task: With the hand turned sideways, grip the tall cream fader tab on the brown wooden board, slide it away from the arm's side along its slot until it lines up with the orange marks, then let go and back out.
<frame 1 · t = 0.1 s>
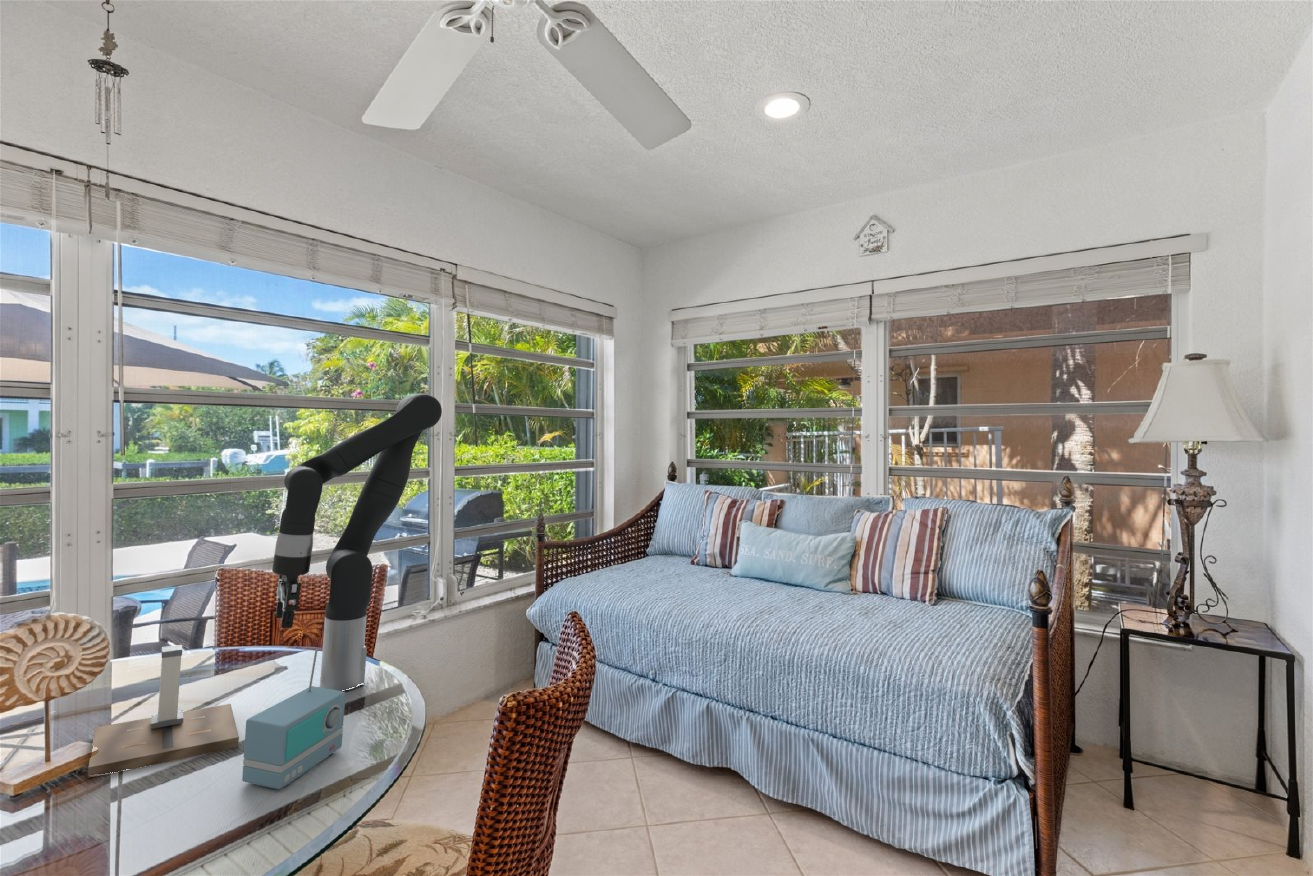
hand: (283, 622, 146), 17 cm above the table, tool pointing down, fingers open, 8 cm apart
radio: (296, 769, 118), on the table
brown wooden board: (166, 742, 124), on the table
fader: (169, 685, 127), point 10 cm above the table, slide at 0.0 cm
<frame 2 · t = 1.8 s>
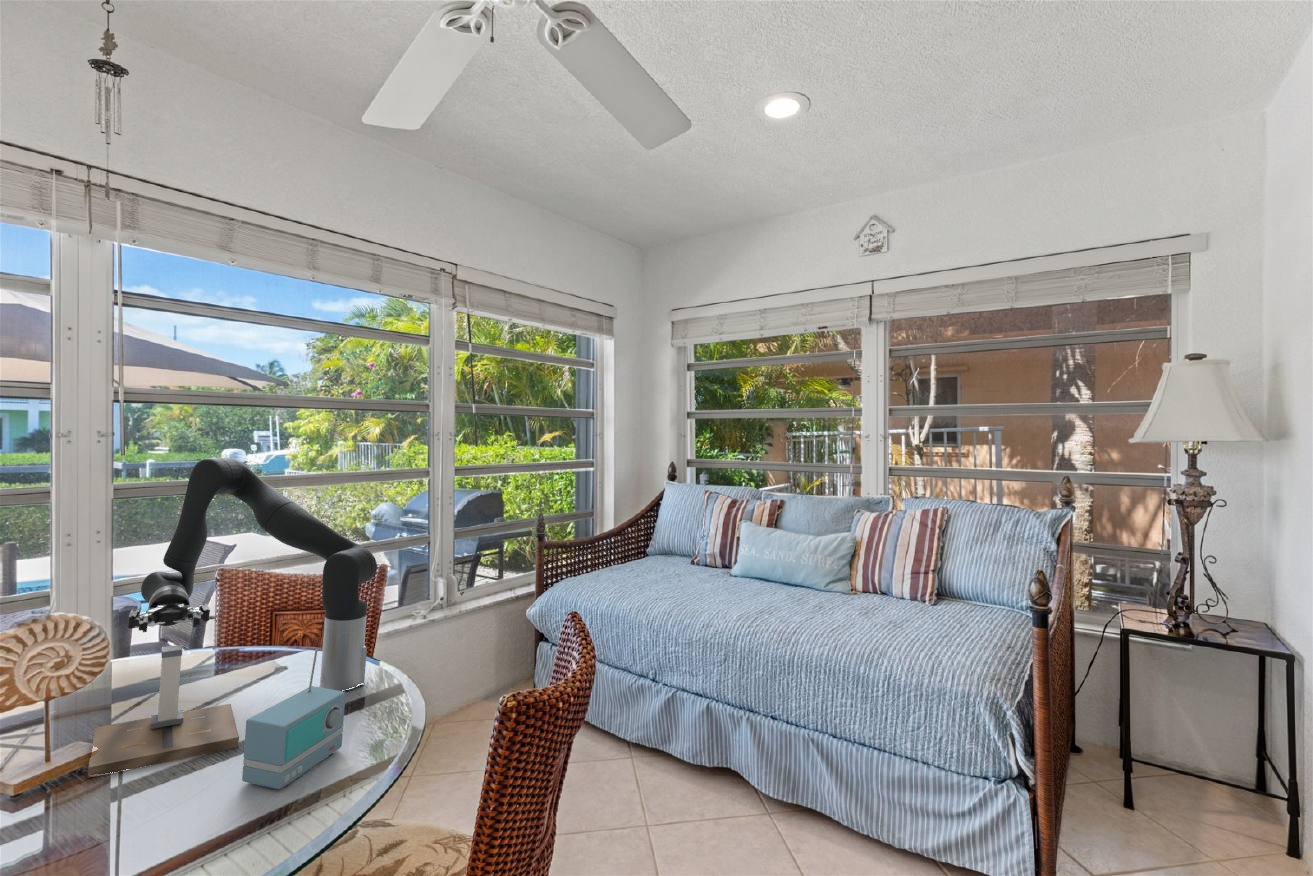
hand: (170, 625, 135), 19 cm above the table, tool horizontal, fingers open, 8 cm apart
nothing on the table moved.
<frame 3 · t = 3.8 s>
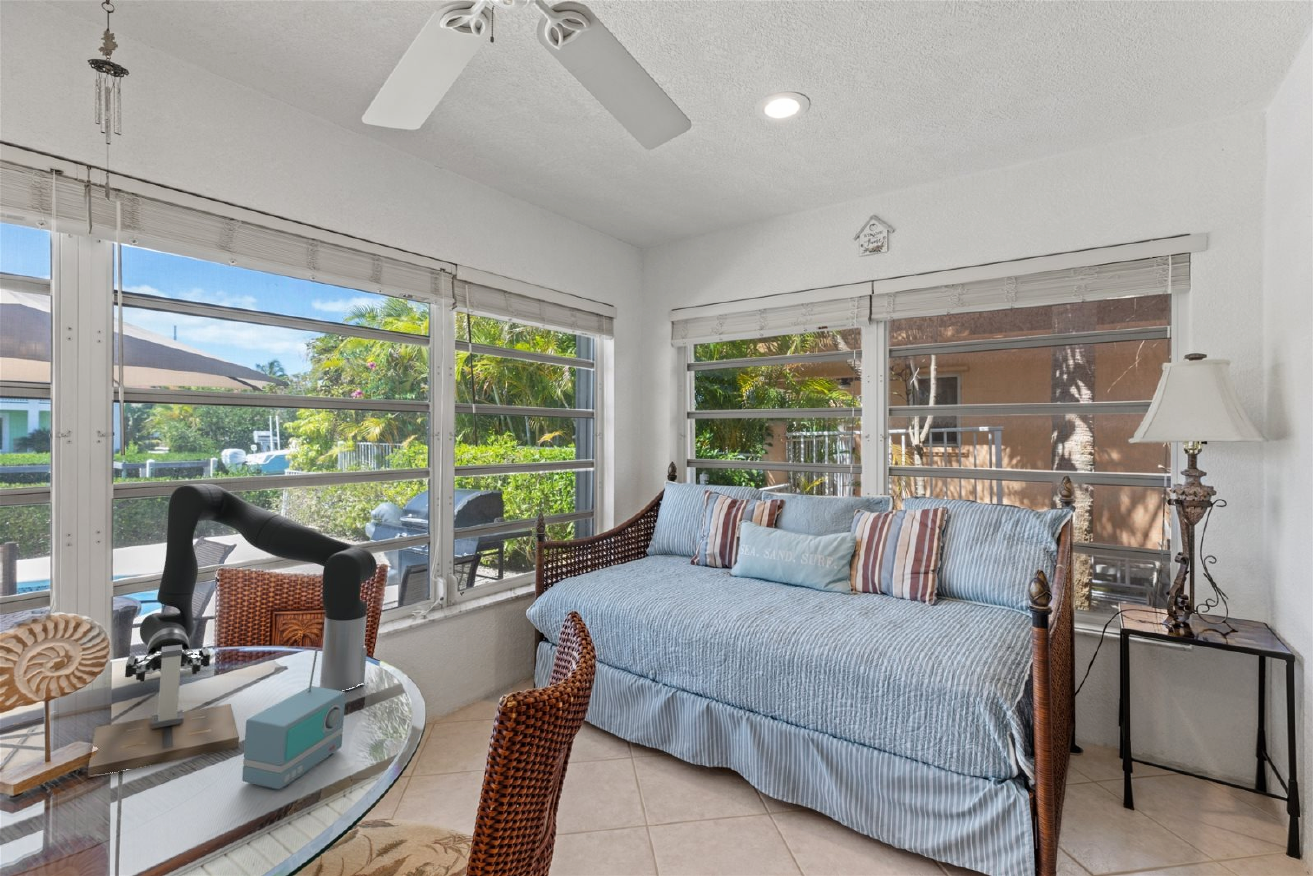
hand: (169, 673, 130), 11 cm above the table, tool horizontal, fingers open, 8 cm apart
nothing on the table moved.
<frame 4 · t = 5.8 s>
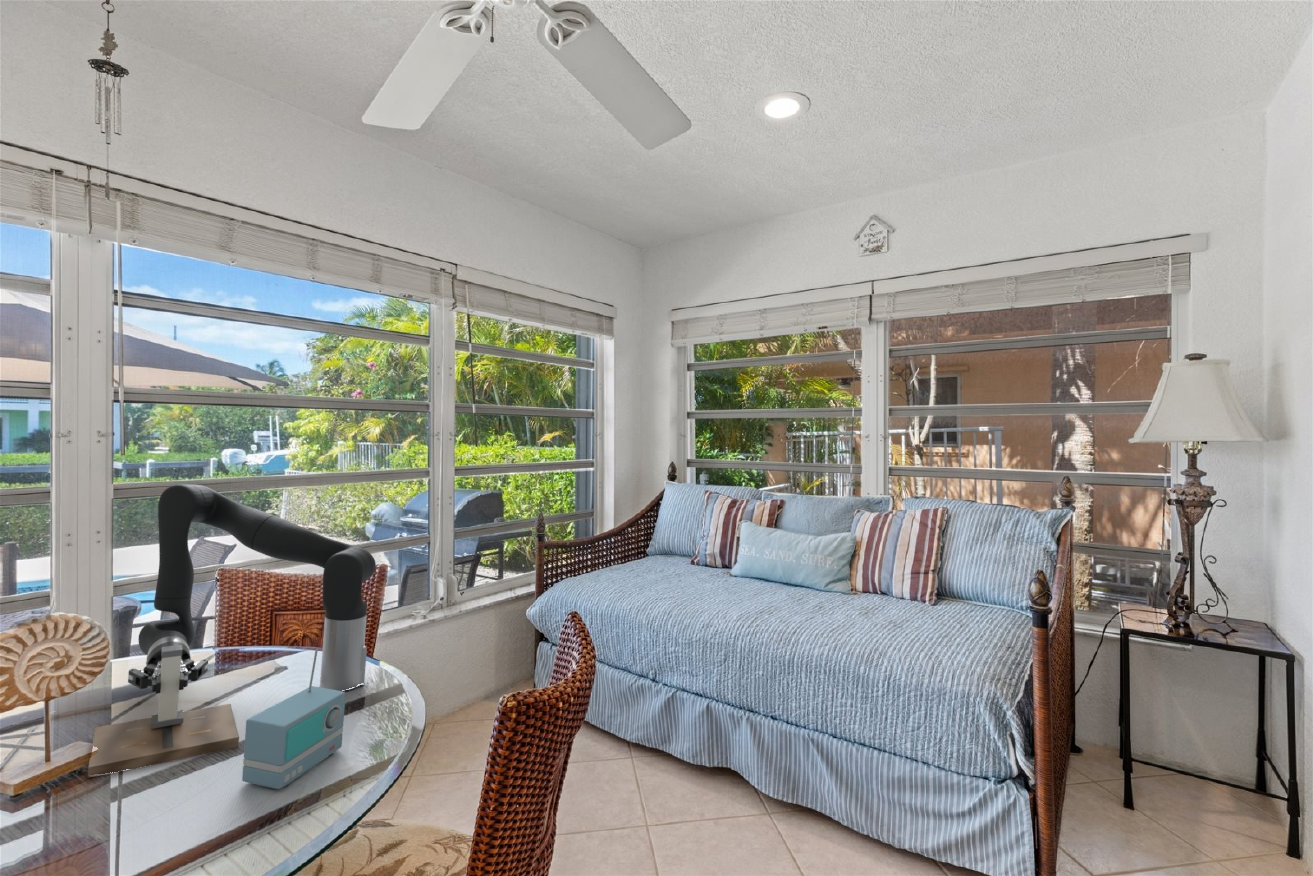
hand: (170, 686, 124), 10 cm above the table, tool horizontal, fingers closed on fader, 3 cm apart
fader: (169, 685, 127), point 10 cm above the table, slide at 0.0 cm, touching gripper
everything else where it was.
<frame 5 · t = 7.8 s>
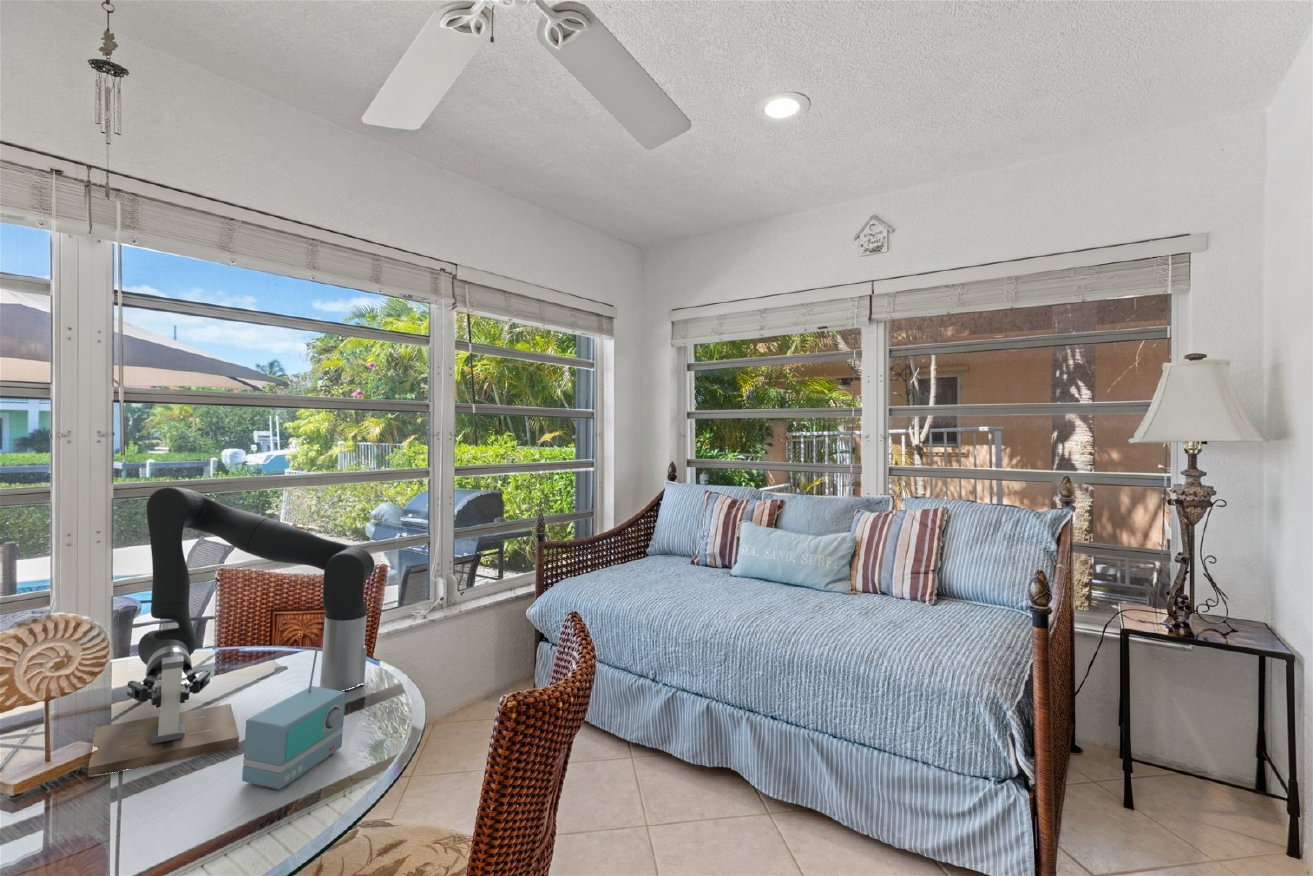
hand: (171, 700, 119), 10 cm above the table, tool horizontal, fingers closed on fader, 3 cm apart
fader: (170, 698, 121), point 10 cm above the table, slide at 6.9 cm, touching gripper
everything else where it was.
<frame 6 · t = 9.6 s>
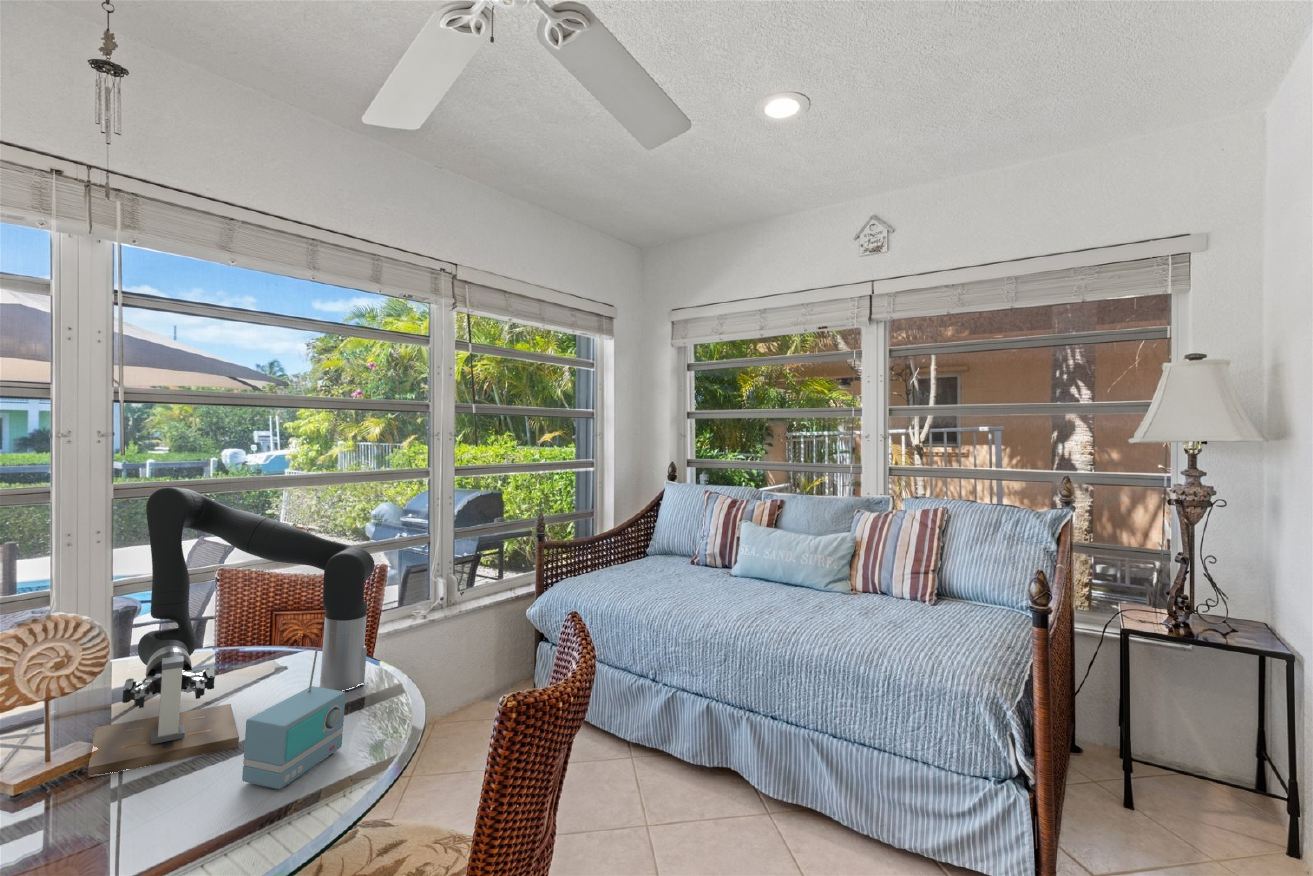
hand: (170, 698, 120), 10 cm above the table, tool horizontal, fingers open, 8 cm apart
fader: (170, 698, 121), point 10 cm above the table, slide at 7.0 cm
everything else where it was.
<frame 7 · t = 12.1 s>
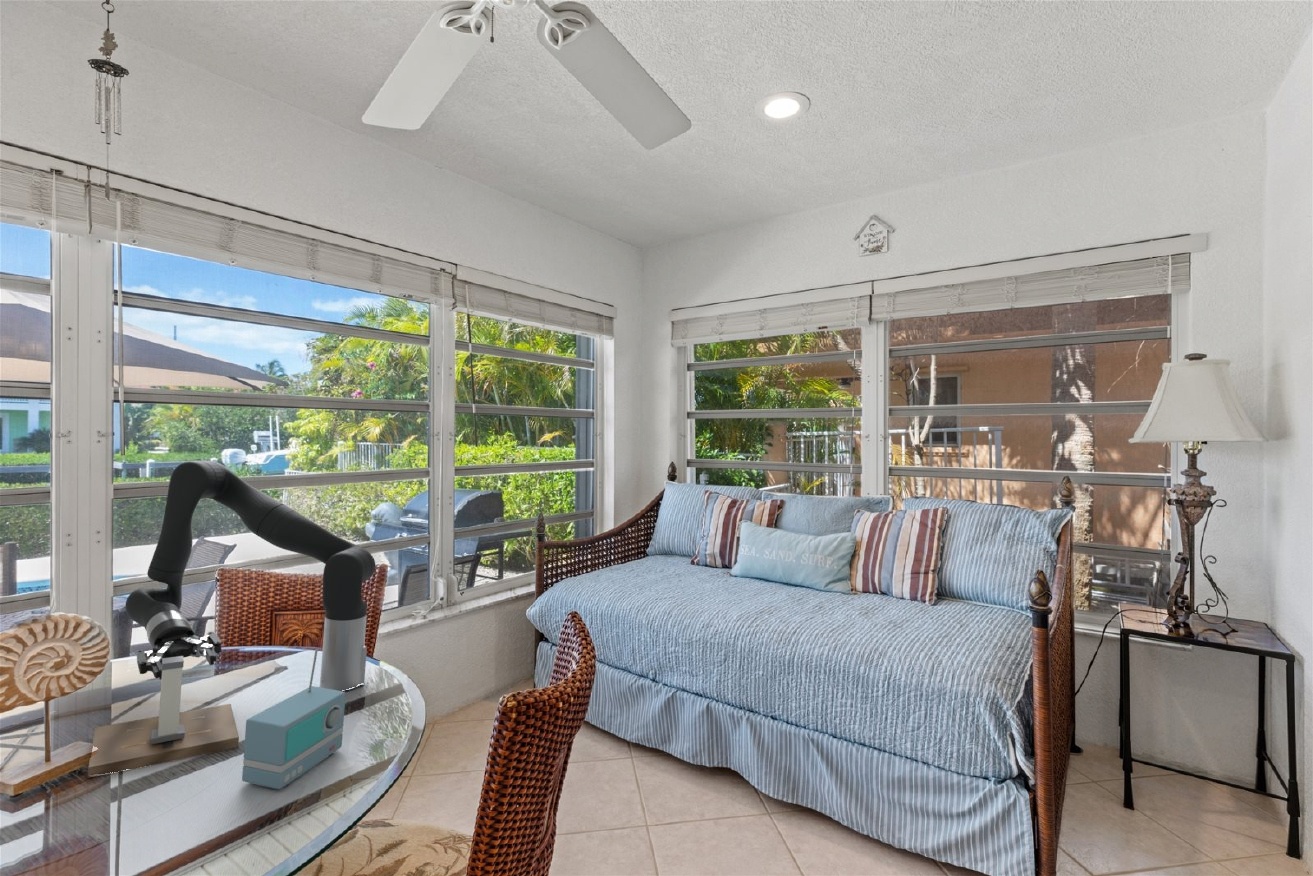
hand: (187, 668, 132), 11 cm above the table, tool horizontal, fingers open, 8 cm apart
nothing on the table moved.
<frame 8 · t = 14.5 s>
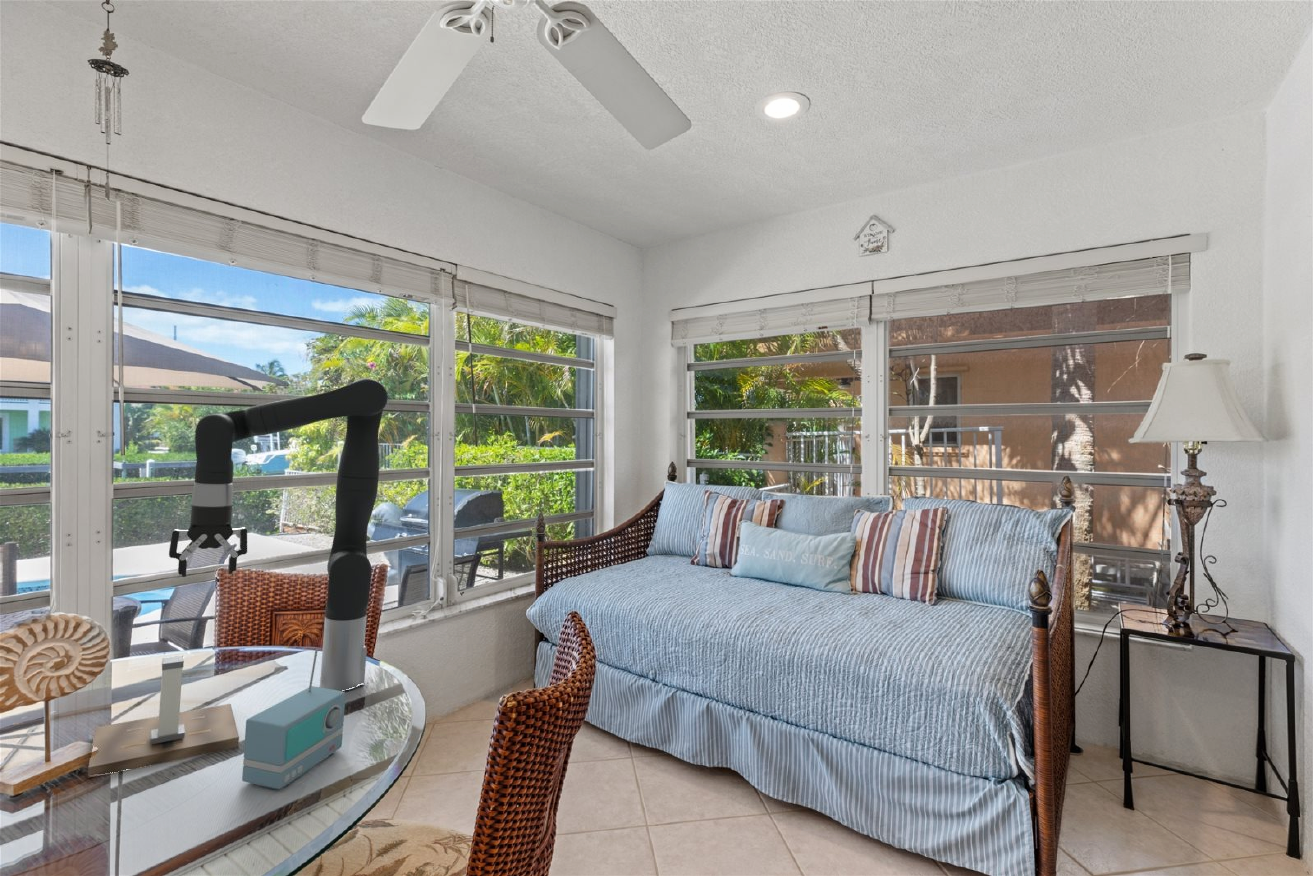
hand: (207, 574, 142), 28 cm above the table, tool pointing down, fingers open, 8 cm apart
nothing on the table moved.
at the end: fader slide at 7.0 cm; the gripper is holding nothing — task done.
